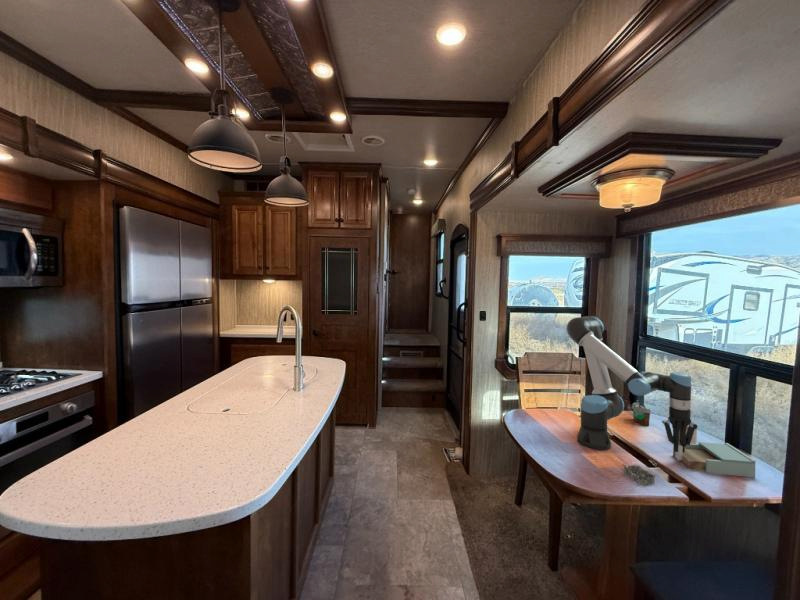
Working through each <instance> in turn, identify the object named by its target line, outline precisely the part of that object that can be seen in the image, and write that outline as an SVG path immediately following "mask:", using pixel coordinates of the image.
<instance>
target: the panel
mask: <svg viewBox="0 0 800 600" xmlns="http://www.w3.org/2000/svg"><path fill="white" fill-rule="evenodd" d="M672 456H673V457H674V458H675V459H676V460H678V459H677V458H676V457H675V451H674V450H673V449H672ZM706 459H711V460H720V459H718V458H717V457H716V456H714V455H713V454H712V453H710V452H709V451H705V450H693V449H685V452H683V454H682V460H678V461H679V463H681V464H682V465H683V466H684V467H686V469H687V470H693V471H695V470H696V471H705V472H706Z"/></svg>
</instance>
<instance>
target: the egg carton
mask: <svg viewBox="0 0 800 600" xmlns="http://www.w3.org/2000/svg"><path fill="white" fill-rule="evenodd" d="M621 465H622V466H623V473H624V475H625V476H628V477H630V479H631V480H632V481H637V483H638V484H639V485H642V486H648V484H650V485H655V478H656V477H657V475H655V474H653V473H651V472H650V471H649V470H646V469H645V468H643V467H641V466H640V465H637V464H636V465H628V466H627V465H625V464H624V463H622V464H621ZM633 472H634V473H633ZM635 473H637V474H635Z"/></svg>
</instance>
